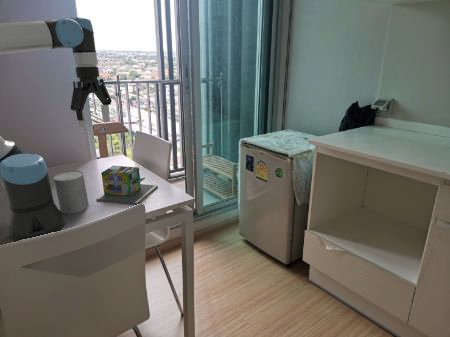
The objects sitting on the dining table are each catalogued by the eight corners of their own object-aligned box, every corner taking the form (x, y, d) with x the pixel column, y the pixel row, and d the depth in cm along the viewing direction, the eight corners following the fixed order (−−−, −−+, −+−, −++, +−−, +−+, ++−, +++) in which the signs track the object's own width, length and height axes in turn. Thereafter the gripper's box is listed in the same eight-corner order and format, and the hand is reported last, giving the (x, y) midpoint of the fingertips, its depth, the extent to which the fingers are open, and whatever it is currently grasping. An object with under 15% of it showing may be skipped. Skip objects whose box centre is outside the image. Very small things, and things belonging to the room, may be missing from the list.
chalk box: (103, 194, 125) (138, 198, 122) (100, 172, 122) (136, 175, 119) (115, 185, 134) (149, 189, 131) (113, 164, 131) (147, 167, 128)
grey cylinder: (54, 211, 115) (47, 178, 111) (74, 200, 123) (69, 169, 119) (74, 215, 111) (68, 182, 107) (94, 203, 120) (89, 172, 116)
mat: (137, 205, 118) (137, 202, 118) (96, 200, 122) (96, 198, 122) (157, 187, 134) (157, 185, 133) (120, 184, 138) (120, 182, 137)
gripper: (99, 64, 127) (107, 118, 134) (51, 67, 104) (63, 132, 111) (116, 64, 125) (123, 119, 132) (70, 67, 102) (81, 133, 109)
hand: (95, 125), depth 122 cm, fingers open, 13 cm apart
